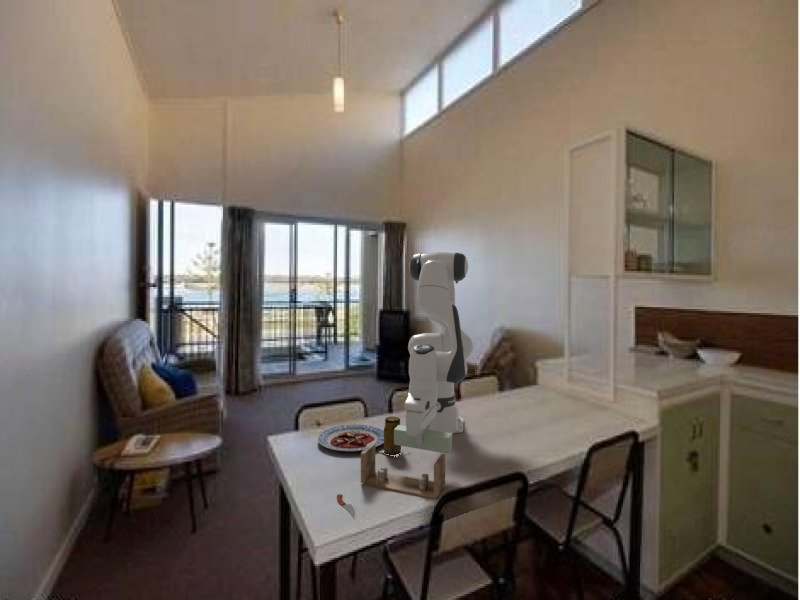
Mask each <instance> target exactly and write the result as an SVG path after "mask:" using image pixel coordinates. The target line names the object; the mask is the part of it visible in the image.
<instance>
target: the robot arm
mask: <svg viewBox="0 0 800 600" xmlns="http://www.w3.org/2000/svg"><path fill="white" fill-rule="evenodd" d="M408 270H409V274H410V277H411V278H412V279H413V280H414V281H416V282H417V281H418V282H417V290H416V304H417V306H418V308H419V310H420V311H421V312H422V313H424V314H425V315H426V317H427V319H428V320H429V321H430V322H431V323H433V324H435V325H437V326H439V327H441V332H423V333H418V334H414V335H412V336H411V337H410V339H409V341H408V346H407V349H408V353H409V358H408V363H407V364H408V366H407V368H408V369H407V370H408V371H407V372H408V376H409V386H408V394H407V398H406V400H405V401H404V404H403V405H404V410H406V412H405V426H406V431H407V435H408V436H411V437H416V443H417V444H422V443H423V437H422V434H423V431H424V430H425V429H428V430H435V431H441V432H448V433H452V435H453V434H458V433H460V434H461V433H464V421H465V420H464V417H461V416H459V407H458V405H457V404H456V392H455V384H458V383H461V382H462V381H463V380H464V379H466V377H467V374H468V362H467V359H468V358H469V357H470V356H471V354H472V353H473V348H474V345H473V344H474V343H473V341H472V339H471V337H470V336H469V335H468V334H467V333H466V332H465V331H463V329H462V328H461V322H460V315H459V311H458V308H457V306H456V291H455V290H456V289H455V284H458V283H459V282H461V281H463V280H464V279H465V278H466V275H467V274H468V271H469V262H468V259H467V257H466V255H465V254H464V253H462V252H461V253H460V252H447V251H438V252H427V253H426V252H425V253H422V252H420V253H415V254H413V256H411V257H410V260H409V264H408Z"/></svg>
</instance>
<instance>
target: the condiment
mask: <svg viewBox="0 0 800 600" xmlns="http://www.w3.org/2000/svg"><path fill="white" fill-rule="evenodd" d="M398 425H401V418H399V417H397V416H394V415H393V416H387V417H385V419H384V426H383V431H384V443H383V449H381V450H378V453H380V454H382V453H381V452H383V450H384V453H385V454H389V455H386V456H387V457H389V458H393V459H398V458H402V457H403V456H406V455H408V454H410V453H411V452H410V451H407V450H405V449H402V446H400V445H394V429H395V428H396V427H397V426H398ZM401 450H402V452H403V453H402V454H401V455H400V454H399V453H400V452H401ZM396 454H399V456H398V457H397V458H396V456H395V457H394V456H390V455H396Z"/></svg>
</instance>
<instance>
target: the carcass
mask: <svg viewBox="0 0 800 600" xmlns="http://www.w3.org/2000/svg"><path fill="white" fill-rule="evenodd" d="M429 477H430V475H429V474H428V473H422V474H421V477H419V478H418V479H417V478H414V477H413V478H412V477H407V476H401V475H396V474H389V473H388V467H387V466H381V467H380V470H378V471H376V447H375V444H374V443H371V444H370V445H369V446H368V447H367V448H366V449H365V450H361V452H360V483H361V484H362V485H363V486H365V485H366V487H371V486H372V487H371V488H376V487H377V489H381V488H383V489H382V490H386V489H387V490H388V491H393V492H397V493H398V492H399V493H403V494H408V495H414V496H419V497H424V498H429V499H434V500H436V499H437V498H439V496H440V494H441V492H442V490H443V489H444V487H445V485H446V453H441V454H440V455H439V456H438V458H437V459H436V461H435V462H434V464H433V481H429Z"/></svg>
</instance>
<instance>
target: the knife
mask: <svg viewBox="0 0 800 600" xmlns="http://www.w3.org/2000/svg"><path fill="white" fill-rule="evenodd" d="M343 497H344V496H343V494H341V493H338V494H337V495H336V501H337V503H338V504H339V505H340V506H341V507H343V509H345V510H346V511H347V512H348V513H349V514H350V515H351V517H352V519H353V520H355V519H356V518H357V516H358V511H357V510H358V509H357V508H356V506H355V505H354V504H353V503H350V504H349V503H348V504H347V503H346V502H344V500H343Z"/></svg>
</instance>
